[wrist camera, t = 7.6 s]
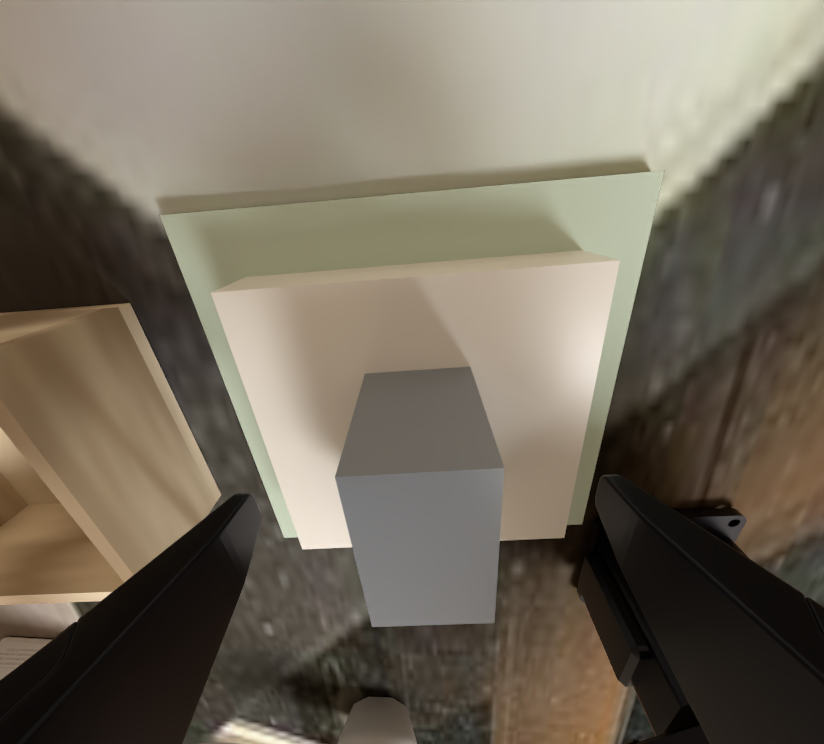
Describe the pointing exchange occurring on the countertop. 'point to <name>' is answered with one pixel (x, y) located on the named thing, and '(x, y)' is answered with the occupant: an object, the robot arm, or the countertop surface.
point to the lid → (424, 413)
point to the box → (89, 455)
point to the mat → (419, 243)
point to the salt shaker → (378, 723)
